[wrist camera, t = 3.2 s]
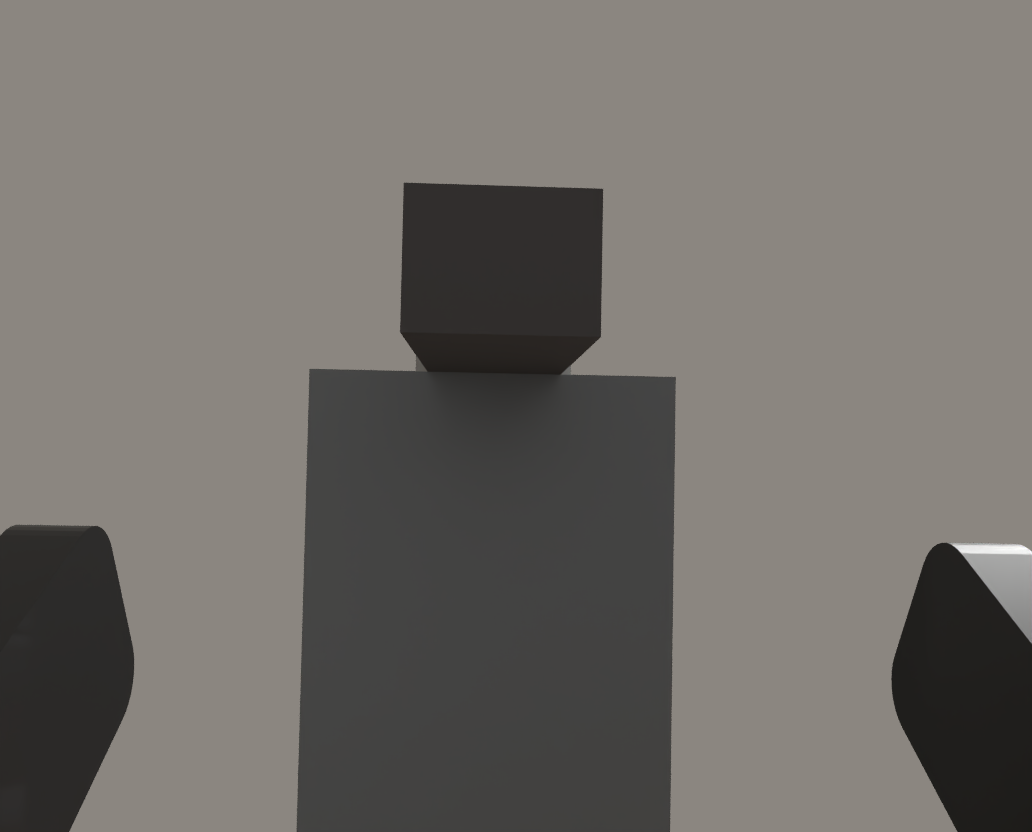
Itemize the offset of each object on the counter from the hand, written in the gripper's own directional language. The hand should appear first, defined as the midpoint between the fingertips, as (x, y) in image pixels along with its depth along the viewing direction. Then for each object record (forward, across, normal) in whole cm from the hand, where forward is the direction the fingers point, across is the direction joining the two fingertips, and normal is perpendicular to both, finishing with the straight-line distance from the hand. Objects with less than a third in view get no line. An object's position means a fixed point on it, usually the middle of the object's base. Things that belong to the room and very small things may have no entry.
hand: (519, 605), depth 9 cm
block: (+19, 0, +6) cm, 20 cm away
